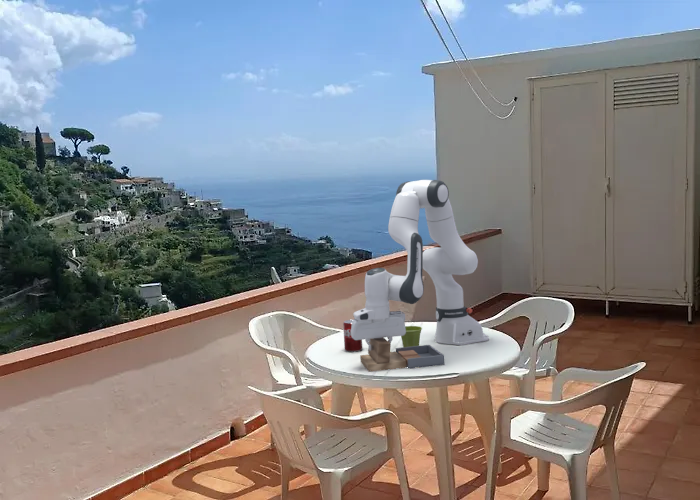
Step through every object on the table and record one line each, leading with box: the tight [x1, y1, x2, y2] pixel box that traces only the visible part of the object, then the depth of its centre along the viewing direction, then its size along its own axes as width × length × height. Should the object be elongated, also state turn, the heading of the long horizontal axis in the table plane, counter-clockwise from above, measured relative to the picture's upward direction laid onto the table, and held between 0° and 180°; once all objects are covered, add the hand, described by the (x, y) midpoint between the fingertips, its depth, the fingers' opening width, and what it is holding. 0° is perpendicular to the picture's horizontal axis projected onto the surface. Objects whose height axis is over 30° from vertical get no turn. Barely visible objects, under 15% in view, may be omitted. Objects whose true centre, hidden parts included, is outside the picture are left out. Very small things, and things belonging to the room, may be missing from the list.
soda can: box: [342, 319, 363, 353], centre depth 264 cm, size 7×7×12 cm
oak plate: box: [359, 351, 407, 373], centre depth 241 cm, size 14×14×2 cm
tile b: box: [403, 355, 420, 366], centre depth 239 cm, size 6×6×2 cm
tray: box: [395, 344, 446, 369], centre depth 244 cm, size 14×17×4 cm
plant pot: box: [400, 325, 423, 347], centre depth 261 cm, size 9×9×9 cm
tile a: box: [398, 350, 418, 358], centre depth 247 cm, size 6×6×2 cm
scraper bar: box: [367, 337, 392, 363], centre depth 241 cm, size 4×14×7 cm, turn 12°
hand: (379, 349), depth 241 cm, fingers closed on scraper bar, 5 cm apart
